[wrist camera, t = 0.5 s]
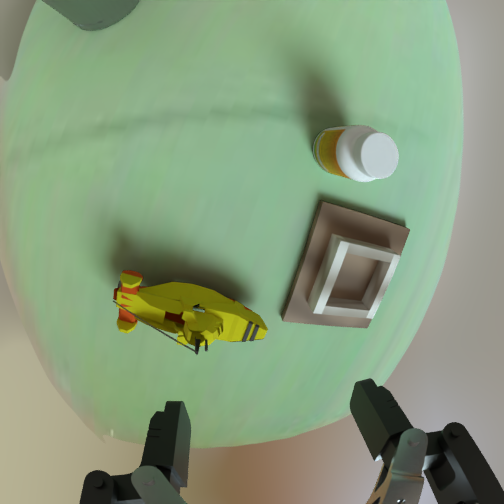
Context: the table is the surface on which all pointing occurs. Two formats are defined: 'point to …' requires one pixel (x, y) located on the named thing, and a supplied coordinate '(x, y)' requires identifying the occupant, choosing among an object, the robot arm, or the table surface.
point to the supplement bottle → (356, 152)
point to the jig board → (344, 268)
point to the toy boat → (185, 312)
